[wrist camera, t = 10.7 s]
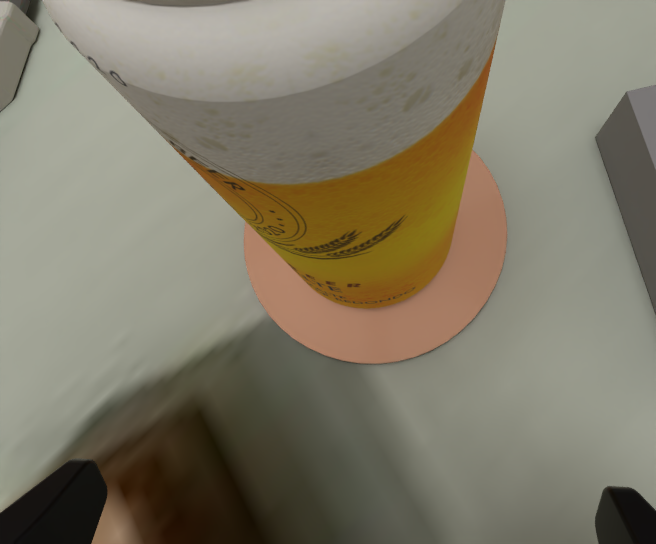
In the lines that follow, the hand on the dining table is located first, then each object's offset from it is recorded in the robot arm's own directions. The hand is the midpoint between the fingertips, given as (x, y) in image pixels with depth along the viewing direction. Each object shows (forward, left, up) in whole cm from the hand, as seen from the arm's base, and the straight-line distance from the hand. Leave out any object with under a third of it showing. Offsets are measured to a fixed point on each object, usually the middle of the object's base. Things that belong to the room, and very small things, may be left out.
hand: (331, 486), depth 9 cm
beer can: (+7, -1, -9) cm, 12 cm away
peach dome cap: (+8, -1, -9) cm, 12 cm away
